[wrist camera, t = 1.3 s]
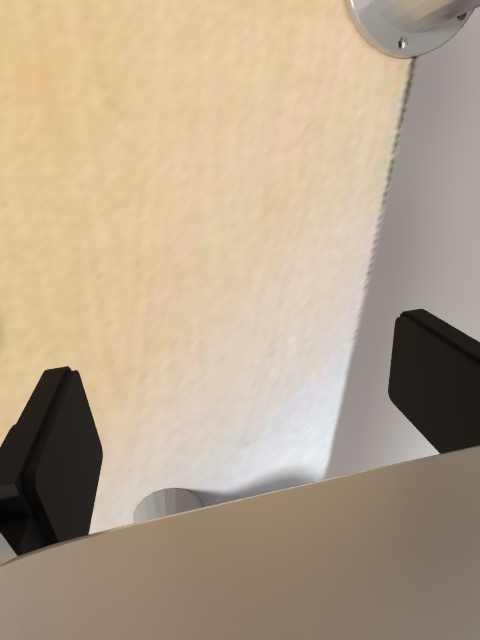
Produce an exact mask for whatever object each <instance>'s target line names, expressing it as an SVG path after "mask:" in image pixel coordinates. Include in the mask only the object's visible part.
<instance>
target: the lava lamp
mask: <svg viewBox="0 0 480 640" xmlns="http://www.w3.org/2000/svg"><path fill="white" fill-rule="evenodd" d="M199 508H203V505H202V502H201V500H200V499H199V498H198V497H197V496H196V495H195V494H194V493H192V492H190V491H188V490H184V489H177V488H172V489H163V490H160V491H157V492H154V493H152V494H151V495H149V496H147V497H146V498H144V499H143V500H142V501H141V502H140V503H139V505H138V506H137V507H136V510H135V512H134V523H138V522H143V521H147V520H151V519H156V518H160V517H164V516H169V515H173V514H177V513H182V512H186V511H190V510H195V509H199Z"/></svg>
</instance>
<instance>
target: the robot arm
mask: <svg viewBox="0 0 480 640" xmlns="http://www.w3.org/2000/svg"><path fill="white" fill-rule="evenodd" d="M344 1H345V5H346V7H347V10H348V13H349V16H350V18H351V20H352V22H353V24H354V26H355V27H356V29H357V31H358V32H359V34H360V35H361V36H362V37H363V38H364V39H365V41H366V42H367V43H368V44H369V45H370V46H372V47H373V48H375V49H376V50H377V51H379V52H381V53H383V54H386V55H388V56H391V57H397V58H411V57H417V56H420V55H423V54H426V53H429V52H430V51H433V50H434V49H437V48H438V47H440V46H442V45H443V44H444V43H446V42H447V41H449V40H450V39H451V38H452V37H453V36H454V35H455V34H456V33H457V32H458V31H459V30H460V29H461V28H462V27H463V26H464V24H465V23H466V21H467V20H468V18H469V17H470V15H471V14H472V12H473V11H474V9H475V8H477V7H479V6H480V0H344ZM398 44H399V46H398ZM388 393H389V397H390V399H391V401H392V402H393V404H394V405H395V406H396V407H397V408H398V409H399V410H400V411H401V412H402V413H403V414H404V415H405V416H406V417H407V419H409V421H410V422H411V423H412V424H413V425H414V426H415V427H416V428H417V429H418V430H419V431H420V432H421V433H422V435H423V436H424V437H425V438H426V439H427V440H428V441H429V442H430V443H431V444H432V445H433V446H434V448H435V449H436V450H437V451H438V452H439V453H440V454H438V455H434V456H429V457H425V458H421V459H416V460H411V461H406V462H402V463H398V464H393V465H388V466H384V467H379V468H375V469H371V470H366V471H362V472H357V473H353V474H349V475H344V476H339V477H335V478H331V479H326V480H321V481H317V482H313V483H308V484H304V485H299V486H295V487H290V488H286V489H282V490H277V491H273V492H268V493H264V494H260V495H255V496H251V497H247V498H242V499H238V500H234V501H229V502H225V503H221V504H216V505H212V506H208V507H203V508H199V509H195V510H190V511H186V512H182V513H177V514H173V515H169V516H164V517H160V518H156V519H151V520H147V521H143V522H138V523H134V524H130V525H125V526H121V527H117V528H113V529H109V530H105V531H101V532H98V533H94V534H90V535H88V534H89V529H90V523H91V518H92V513H93V507H94V502H95V497H96V491H97V486H98V481H99V475H100V470H101V465H102V459H103V452H102V446H101V442H100V439H99V436H98V433H97V429H96V426H95V423H94V420H93V416H92V413H91V410H90V407H89V403H88V400H87V397H86V394H85V390H84V387H83V384H82V381H81V377H80V374H79V372H78V371H77V370H75V371H71V369H70V367H68V366H67V367H61V368H55V369H48V370H45V371H44V372H43V374H42V376H41V378H40V380H39V382H38V384H37V386H36V388H35V389H34V391H33V393H32V395H31V397H30V399H29V401H28V403H27V404H26V406H25V408H24V410H23V412H22V414H21V416H20V418H19V420H18V421H17V423H16V424H15V425H13V426H12V428H11V429H10V430H9V432H8V434H7V436H6V438H5V440H4V441H3V443H2V445H1V447H0V640H480V342H478V341H477V340H475V339H473V338H471V337H469V336H468V335H466V334H465V333H463V332H461V331H460V330H458V329H456V328H455V327H453V326H451V325H449V324H448V323H446V322H444V321H443V320H441V319H439V318H437V317H436V316H434V315H432V314H431V313H429V312H427V311H426V310H424V309H417V310H411V311H405V312H403V313H401V315H400V317H398V318H397V319H396V322H395V329H394V339H393V348H392V359H391V367H390V378H389V387H388Z"/></svg>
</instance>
